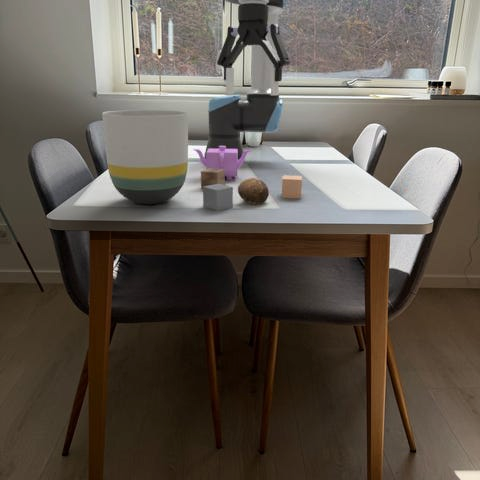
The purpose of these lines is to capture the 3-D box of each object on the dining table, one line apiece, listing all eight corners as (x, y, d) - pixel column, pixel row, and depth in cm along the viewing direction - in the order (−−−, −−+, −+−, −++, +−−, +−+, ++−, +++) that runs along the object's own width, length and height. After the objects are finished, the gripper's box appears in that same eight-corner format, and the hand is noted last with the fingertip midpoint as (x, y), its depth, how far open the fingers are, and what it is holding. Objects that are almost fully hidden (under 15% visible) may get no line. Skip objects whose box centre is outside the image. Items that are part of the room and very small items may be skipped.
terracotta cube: (281, 197, 120) (282, 179, 119) (282, 193, 125) (282, 175, 123) (300, 198, 120) (301, 179, 118) (300, 194, 124) (301, 175, 123)
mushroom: (235, 184, 119) (244, 167, 115) (263, 196, 121) (273, 179, 116) (231, 206, 114) (240, 189, 109) (260, 217, 115) (271, 201, 111)
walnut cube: (201, 188, 129) (200, 171, 127) (208, 185, 133) (208, 168, 131) (217, 190, 127) (217, 172, 125) (224, 186, 131) (224, 169, 130)
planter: (196, 209, 108) (194, 115, 101) (110, 215, 103) (102, 116, 96) (182, 190, 126) (180, 109, 119) (108, 194, 121) (101, 110, 113)
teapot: (250, 173, 150) (251, 143, 147) (251, 182, 138) (252, 149, 134) (195, 172, 150) (195, 142, 147) (191, 181, 138) (190, 148, 134)
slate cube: (203, 206, 111) (203, 186, 109) (219, 203, 114) (219, 183, 113) (216, 211, 108) (216, 190, 106) (232, 207, 111) (232, 187, 109)
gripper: (203, 5, 117) (204, 93, 124) (291, -3, 104) (287, 96, 111) (220, 9, 123) (220, 93, 130) (306, 2, 110) (301, 95, 117)
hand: (251, 94), depth 120 cm, fingers open, 13 cm apart
